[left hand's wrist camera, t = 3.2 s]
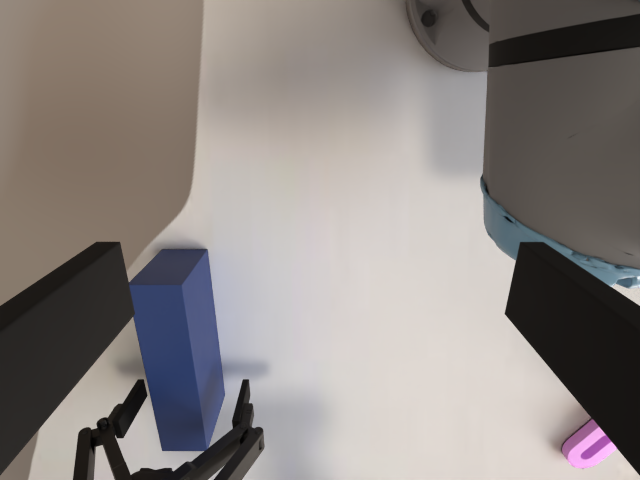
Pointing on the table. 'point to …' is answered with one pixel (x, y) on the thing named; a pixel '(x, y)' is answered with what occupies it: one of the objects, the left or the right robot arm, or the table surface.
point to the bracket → (588, 446)
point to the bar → (180, 346)
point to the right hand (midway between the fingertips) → (194, 387)
